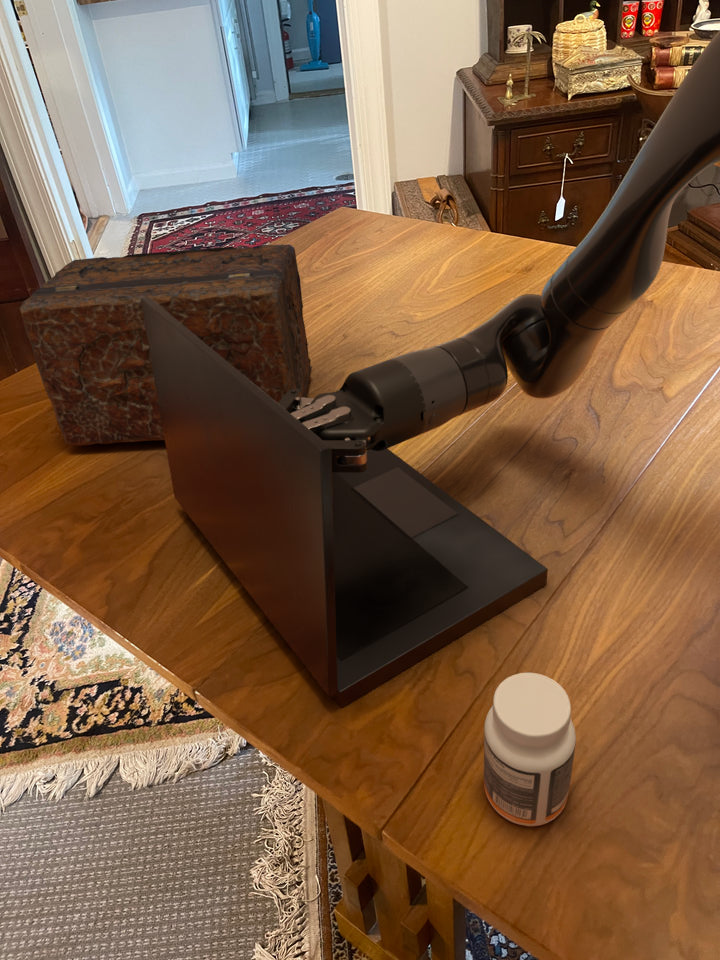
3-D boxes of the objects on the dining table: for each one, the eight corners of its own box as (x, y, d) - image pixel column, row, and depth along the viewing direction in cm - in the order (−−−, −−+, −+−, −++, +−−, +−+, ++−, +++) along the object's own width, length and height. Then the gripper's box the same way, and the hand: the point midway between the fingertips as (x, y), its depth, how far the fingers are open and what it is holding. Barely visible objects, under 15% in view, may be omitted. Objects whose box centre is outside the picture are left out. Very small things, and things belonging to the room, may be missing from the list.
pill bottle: (540, 742, 54) (549, 653, 48) (583, 813, 49) (599, 724, 43) (469, 768, 52) (469, 680, 47) (507, 843, 48) (512, 756, 42)
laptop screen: (149, 295, 67) (140, 297, 66) (333, 446, 44) (320, 450, 44) (182, 495, 79) (174, 497, 78) (339, 692, 56) (329, 697, 56)
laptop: (355, 436, 89) (353, 421, 87) (546, 584, 66) (548, 568, 65) (186, 509, 80) (182, 494, 79) (341, 708, 58) (339, 691, 56)
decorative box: (101, 395, 105) (55, 462, 88) (62, 252, 95) (1, 296, 78) (314, 379, 105) (310, 443, 87) (298, 233, 94) (290, 273, 77)
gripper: (363, 336, 70) (195, 392, 63) (449, 389, 61) (263, 462, 54) (367, 404, 75) (211, 463, 68) (448, 463, 66) (276, 539, 59)
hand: (234, 463), depth 61 cm, fingers closed
